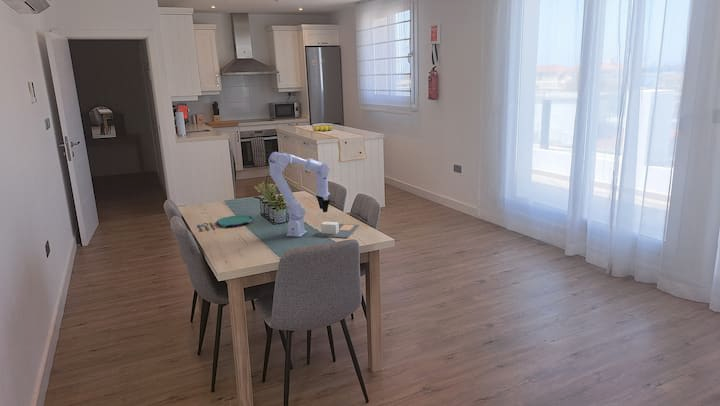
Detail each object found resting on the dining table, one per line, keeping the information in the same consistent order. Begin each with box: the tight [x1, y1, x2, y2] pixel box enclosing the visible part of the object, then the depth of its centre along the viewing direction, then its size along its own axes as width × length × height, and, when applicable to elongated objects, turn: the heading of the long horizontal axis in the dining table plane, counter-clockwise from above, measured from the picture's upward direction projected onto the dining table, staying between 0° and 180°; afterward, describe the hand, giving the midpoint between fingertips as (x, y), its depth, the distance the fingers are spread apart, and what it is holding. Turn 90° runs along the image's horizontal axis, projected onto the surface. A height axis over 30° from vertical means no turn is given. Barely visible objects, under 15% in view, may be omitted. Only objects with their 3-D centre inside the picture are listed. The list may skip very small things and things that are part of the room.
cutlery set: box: [197, 214, 253, 232], centre depth 278 cm, size 20×30×2 cm, turn 116°
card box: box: [320, 221, 340, 234], centre depth 255 cm, size 4×8×5 cm, turn 75°
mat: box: [316, 223, 360, 239], centre depth 260 cm, size 22×16×1 cm
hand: (323, 210), depth 264 cm, fingers open, 7 cm apart
